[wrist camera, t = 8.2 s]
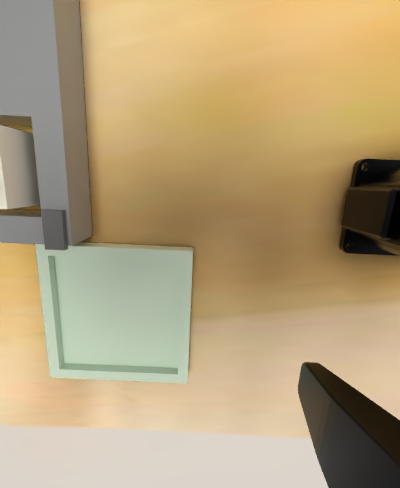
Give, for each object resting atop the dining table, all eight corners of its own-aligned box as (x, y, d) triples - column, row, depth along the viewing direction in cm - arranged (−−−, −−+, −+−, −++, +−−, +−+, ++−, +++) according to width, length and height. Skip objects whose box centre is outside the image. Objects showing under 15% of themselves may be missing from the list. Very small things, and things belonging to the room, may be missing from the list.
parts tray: (193, 247, 19) (192, 251, 17) (188, 372, 21) (187, 383, 20) (45, 240, 18) (35, 244, 17) (58, 366, 21) (50, 377, 20)
